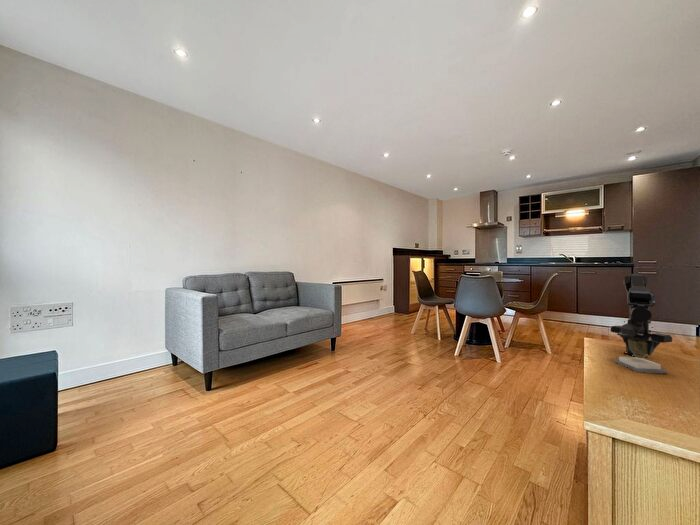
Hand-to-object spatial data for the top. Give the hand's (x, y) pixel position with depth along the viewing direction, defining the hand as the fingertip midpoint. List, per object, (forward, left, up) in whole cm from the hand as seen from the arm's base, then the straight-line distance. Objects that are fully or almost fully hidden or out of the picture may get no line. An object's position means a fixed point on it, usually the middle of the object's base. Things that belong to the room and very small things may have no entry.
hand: (639, 352), depth 121 cm
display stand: (0, 0, -7) cm, 7 cm away
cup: (0, 0, -2) cm, 2 cm away
